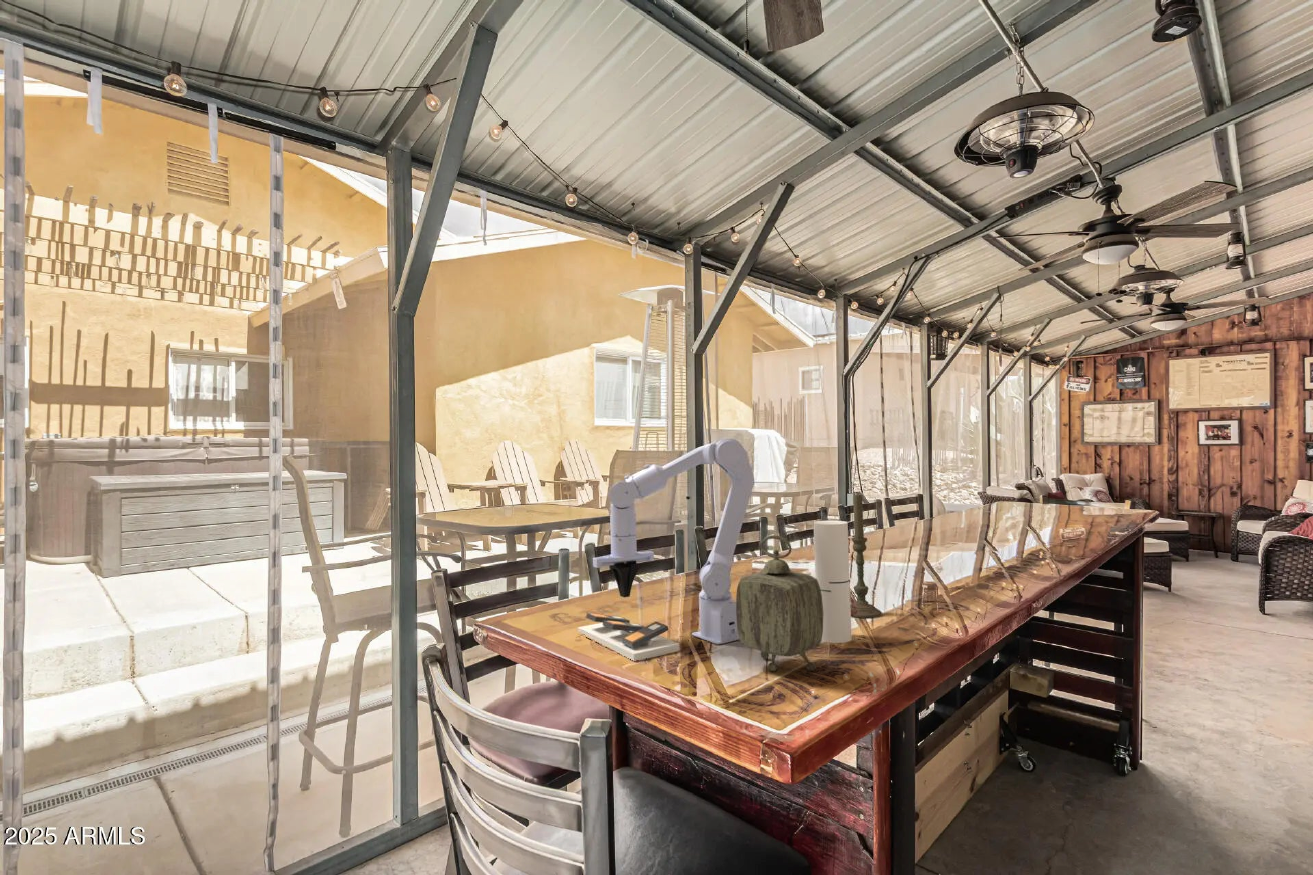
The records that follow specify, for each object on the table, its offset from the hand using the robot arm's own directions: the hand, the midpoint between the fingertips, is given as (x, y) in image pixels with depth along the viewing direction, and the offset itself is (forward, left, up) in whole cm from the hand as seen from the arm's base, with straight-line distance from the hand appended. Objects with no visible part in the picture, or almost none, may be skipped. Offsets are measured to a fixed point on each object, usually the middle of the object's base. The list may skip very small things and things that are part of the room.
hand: (624, 596), depth 146 cm
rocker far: (+6, +1, -6) cm, 9 cm away
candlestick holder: (-18, -57, -10) cm, 60 cm away
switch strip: (-2, +1, -10) cm, 10 cm away
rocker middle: (-2, +1, -6) cm, 6 cm away
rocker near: (-10, +1, -6) cm, 12 cm away
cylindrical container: (-28, -36, -10) cm, 46 cm away
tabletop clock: (-35, -13, -10) cm, 38 cm away
